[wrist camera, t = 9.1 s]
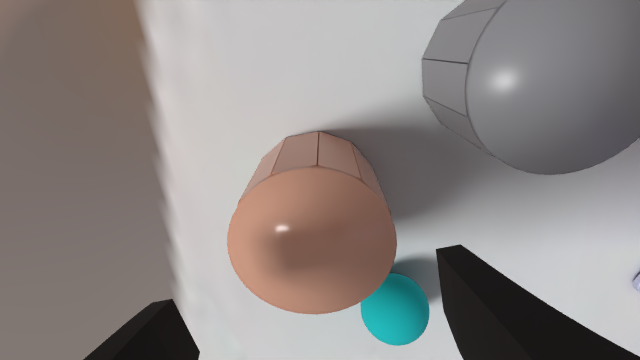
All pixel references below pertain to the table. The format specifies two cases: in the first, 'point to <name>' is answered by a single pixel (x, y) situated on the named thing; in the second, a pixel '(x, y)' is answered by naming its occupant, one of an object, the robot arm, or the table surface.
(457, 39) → the gray domed cylinder
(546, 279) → the table surface
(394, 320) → the teal ball
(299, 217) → the peach domed cylinder
